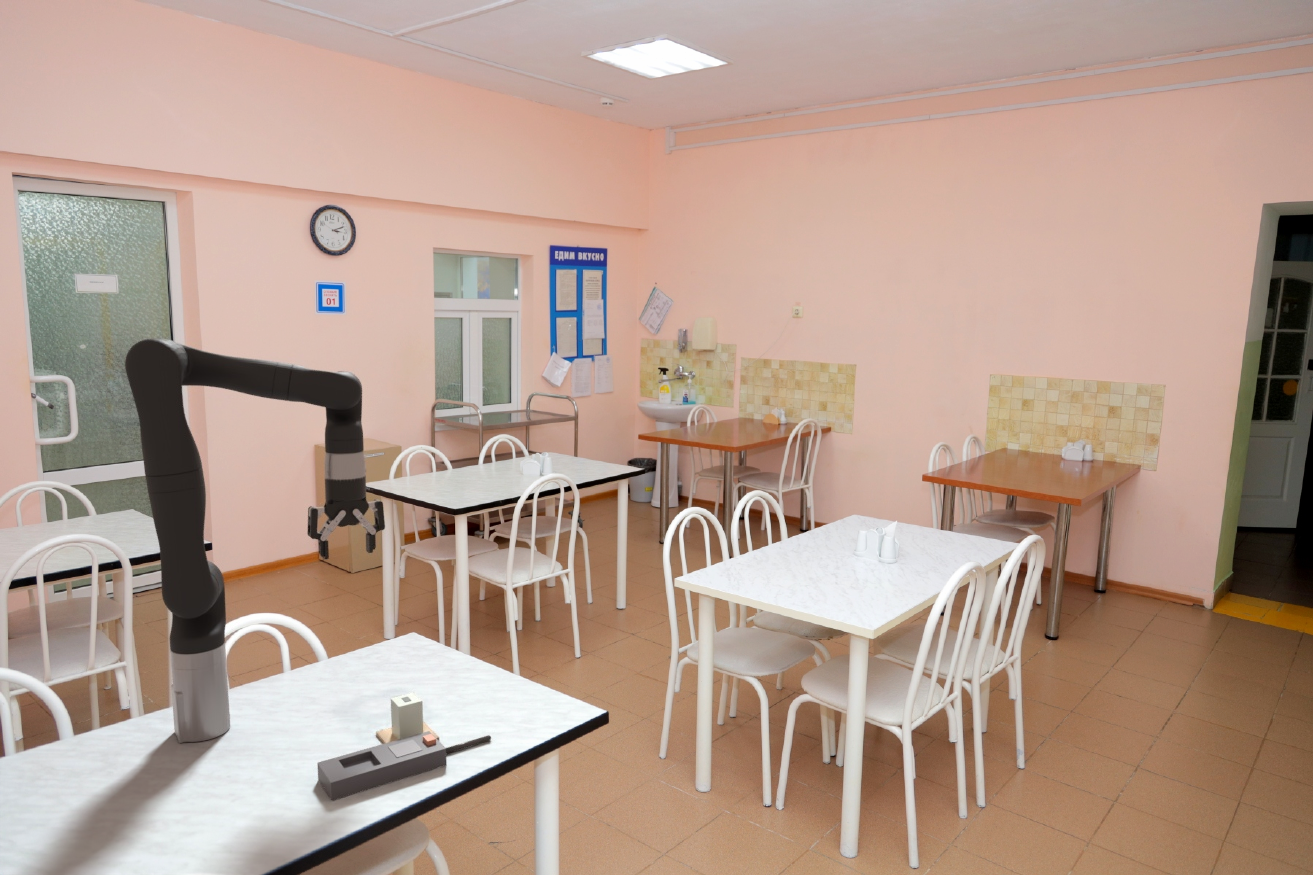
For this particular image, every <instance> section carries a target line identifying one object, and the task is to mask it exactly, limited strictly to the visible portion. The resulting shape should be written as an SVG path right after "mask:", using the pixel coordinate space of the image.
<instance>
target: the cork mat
mask: <svg viewBox="0 0 1313 875" xmlns="http://www.w3.org/2000/svg"><path fill="white" fill-rule="evenodd" d="M427 731H430V732H431V733H432V734H433V735H434V736H435V737H436V738H437V739H438V740H439V741H440V736H439V735H438V734H437V733H436V732H435V731H434V730H433V729H432V728H431V727H430V726H429V725H428V724H427V723H426V721H424V720H423V733H424V732H427ZM375 733H376V734H375V735H376V737H377V738H378V739H379V740H380V741H381V743H382V744H385V743H388V742H392V741H395V740H398V739H397V738H396V737H395V736H394V735H393V734H392V727H389V728H385V729H382V730H379V731H375Z"/></svg>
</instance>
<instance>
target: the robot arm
mask: <svg viewBox="0 0 1313 875" xmlns="http://www.w3.org/2000/svg"><path fill="white" fill-rule="evenodd" d="M124 367H125V368H124V370H125V374H126V377H127V379H128V384H129V387H130V391H131V394H132V398H133V401H134V404H135V408H136V412H137V416H138V421H139V422H138V423H139V429H140V431H139V432H140V442H141V451H142V459H143V466H144V467H143V469H144V476H145V482H146V488H147V494H148V498H149V502H150V508H151V509H150V510H151V513H152V518H153V524H154V528H155V533H156V536H157V541H158V546H159V554H160V556H159V557H160V573H161V574H160V576H161V578H160V579H161V598H162V600H163V603H164V605H165V606H166V608H167V609H168V611H170V612H171V615H172V616H171V617H172V618H171V629H170V634H169V650H170V662H171V663H170V664H171V675H172V676H171V677H172V680H171V681H172V683H171V687H170V688H171V698H172V700H171V701H172V713H173V726H174V733H175V736H176V738H177V741H178V742H177V743H178V744H181V743H186V742H187V743H188V742H194V743H195V742H203V741H208V740H212V739H214V738H217V737H219V736H221V735H223V734H225V733H226V732H227V731H229V729H230V728H231V712H230V700H229V698H230V697H229V685H228V684H229V682H228V668H227V667H228V666H227V665H228V664H227V654H226V624H227V616H226V615H227V614H226V613H227V611H226V592H225V591H226V590H225V588H226V587H225V579H224V575H223V573H222V571H221V570H220V568H219V567H218V566H217V565H216V564H215V563H213V562H212V561H210V560H208V557H207V552H206V547H205V535H204V534H205V524H206V523H205V520H206V504H207V503H206V502H207V501H206V500H207V499H206V498H207V494H206V493H207V491H206V484H205V482H206V481H205V477H204V470H203V463H202V459H201V456H200V452H199V448H198V446H197V443H196V441H195V439H194V436H193V433H192V431H191V429H190V427H189V425H188V424H189V423H188V421H187V418H186V414H185V408H184V407H185V406H184V396H183V395H184V394H183V386H184V387H186V386H187V387H188V386H190V387H191V386H192V387H193V386H196V387H197V386H198V387H211V388H218V389H224V390H230V391H234V392H238V393H242V394H245V395H250V396H254V397H259V398H264V399H265V398H266V399H271V400H279V401H284V402H294V403H295V402H296V403H304V404H308V405H313V406H317V407H320V408H325V418H326V422H325V428H324V447H325V448H324V451H325V452H324V462H323V464H324V470H323V471H324V493H325V495H324V496H325V502H324V506H312V505H310V506H308V509H307V536H308V537H310V539H312V540H317V542H318V544H317V545H318V555H319V556H320V557H322V559H323V560H329V559H330V557H329V556H330V553H329V540H328V538H329V536H331V533H332V532H334V531H335V529H336V528H337V527H340V528H342V527H347V526H357V525H358V524H360V525H361V527H362V528H364V530H365V531H366V533H365V550H366V553H368V554H373V552H374V550H376V547H377V546H376V545H377V542H376V534H377V533H378V532H380V531H384V530H385V528H386V524H385V523H386V522H385V514H384V513H385V511H384V503H383V501H381V500H380V499H377V498H376V499H374V500H373V501H372V500H371V501H368V500H367V477H366V475H367V474H366V473H367V467H366V460H365V458H366V457H365V451H364V430H363V424H362V423H363V422H362V416H363V414H362V413H363V410H362V409H363V385H362V382H361V381H360V378H358V377H357V376H356V375H355V373H352V372H350V371H345V370H339V371H328V370H319V369H312V368H308V367H306V366H303V365H299V364H293V363H287V362H281V361H274V360H265V359H257V358H247V357H240V356H239V357H238V356H230V355H225V354H219V353H214V352H210V351H206V350H202V349H199V348H195V347H192V346H188V345H185V344H182V343H179V342H176V341H174V340H172V339H169V338H163V337H153V338H146V339H141V340H139V341H137V342H136V343H134V344H133V345H132V346H131V347H130V349H129V350H128V351H127V354H126V357H125V360H124ZM369 508H370V510H371V511H372V512H373V514H374V515H373V516H374V524H373V525H372V523H370V521H369V520H368V519H367V518H366V517H365V515H366V513H367V512H368V511H369ZM322 514H325V515H326V516H327V519H326V520H325V522H324V523H323V525H322V527H321V528H320V530H319V531H318V527H319V525H318V522H319V521H318V520H319V519H320V518H321V517H322Z"/></svg>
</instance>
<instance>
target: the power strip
mask: <svg viewBox="0 0 1313 875" xmlns="http://www.w3.org/2000/svg"><path fill="white" fill-rule="evenodd" d="M491 739H492V736H491V735H484V736H481V737H478V738H476V739H471V740H469V741H468V740H467V741H465V742H461V743H459V744H455V745H451V746H447V747H446V746H445V745H444V744H442V743H441V742H440V739H439V740H438V739H437V738H436V737H435V736H434V735H433V734H432V733H431V732H430V731H427V732H424V733H420V734H417V735H413V736H410V737H406V738H402V739H399V740H395V741H392V742H388V743H385V744H384V743H382V744H378V745H375V746H372V747H368V748H364V749H360V750H357V751H354V752H351V753H350V752H349V753H346V754H343V755H340V756H339V755H338V756H337V757H333V758H329V759H325V760H321V761H318V762H317V780H318V782H319V783H320V785H321V787H322V788H323V790H324V791H325V793H326V794H327V796H328V797H329V799H330V801H331V802H332V801H337V800H340V799H342V798H345V797H349V796H352V795H355V794H359V793H362V792H364V791H365V792H366V791H368V790H371V789H374V788H377V787H382V786H383V785H387V784H391V783H394V782H397V781H400V780H403V779H406V778H410V777H412V776H417V775H419V774H422V773H427V772H429V771H432V770H435V769H436V770H437V769H438V768H441V767H444V766H445V767H446V766H447V764H448V763H447V754H450V753H454V752H457V751H460V750H464V749H466V748H470V747H473V746H477V745H480V744H483V743H487V742H490V741H491Z"/></svg>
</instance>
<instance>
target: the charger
mask: <svg viewBox="0 0 1313 875" xmlns="http://www.w3.org/2000/svg"><path fill="white" fill-rule="evenodd" d="M423 710H424V709H423V700H422V699H421V698H420V697H419V696H418V695H417V694H416V693H415V692H411V693H406V694H403V695H398V696H395V697H390V711H391V713H390V714H391V719H390V720H391V728H392V734H393V735H394V736H395V737H396V738H397V739H398V740H399V739H402V738H406V737H410V736H413V735H417V734H420V733H423V721H424V714H423Z"/></svg>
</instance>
